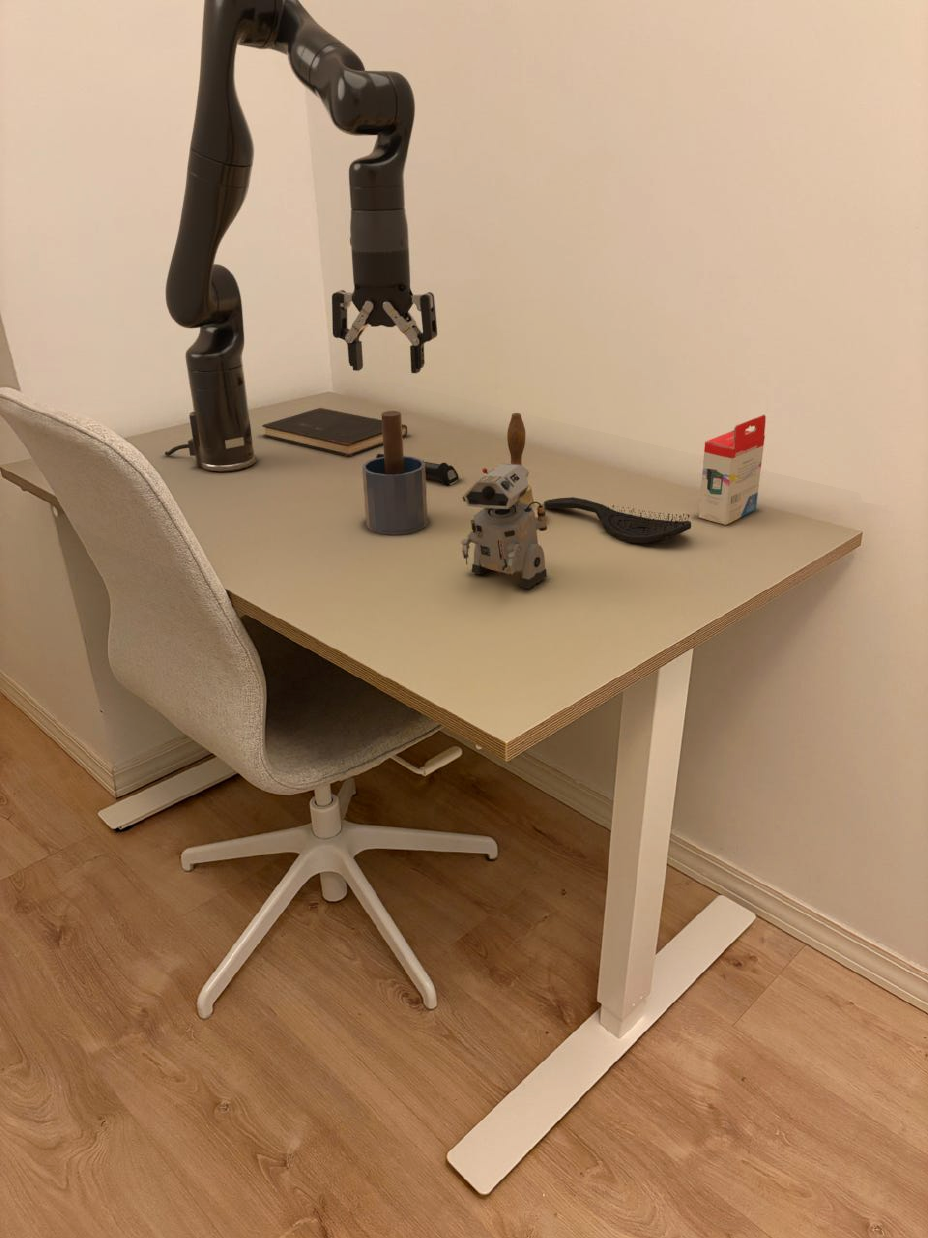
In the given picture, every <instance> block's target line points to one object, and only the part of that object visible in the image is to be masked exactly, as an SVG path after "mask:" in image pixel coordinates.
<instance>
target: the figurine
mask: <svg viewBox="0 0 928 1238" xmlns="http://www.w3.org/2000/svg"><path fill="white" fill-rule="evenodd" d="M481 470H482V473H483V474H485V475H484V476H482V477H481V478H479V479H478V480H476V482H475V483H473V484H472V486H471V487H470V488H469V489H468V490H467V491H466V492H465V493H464V494H463V496H462V500H463V502H465V504H466V507H472V508H481V510H479V511H478V512H477V513H476V514H474V515H473V516H472V518H473V519H470V525H471V531H470V532H468V534H467V537H466V538H464V539H462V540H461V541H460V543H461V545H462V548H461V552H462V557H463V559H464V560H465V563H466V564H465V565H468V559H469V558H470V556H469V550H470V548H471V547H470V544H471V543H472V544H474V549H473V563H472V565H471V573H474V574H475V575H479V576H481V575H483V574H484V573H486V572H487V570H492V571H495V572H498V573H504V574H506V575H513V574H514V573H516V572H520V571H522V574H521V575H522V577H521V578H520V587H522V588H524V589H526V590H531V589H532V588H535V586H536V584H541V582H544V580H545V578H547V577H548V573H547V569H546V559H545V552H544V549H543V547H542V546H541V544H539V542H538V540H539V539H538V532H537V530H539V531H540V532H544V531H547V530H548V525H547V519H546V518H547V517H546V507H544V506H545V505H544V504H541V503H540V502H539V501H534V502H532V503H530V504H529V505H528V504H524V503H520V502H521V501H520V499H521V498H522V497H523V496H524V495H525V494H526V491H527V488H528V484H529V482H528V476H529V474H530V472H529V470H528V469H527V468H526V467H525V466H523V465H522V466H521V465H519V464H511V463H501V464H500V465H498V466H496V467H495V468H493V469H492V470H490V471H488V468H486V467H483V468H482V469H481ZM533 503H535V504H538V505H537V506H536V508H537V515H538V517H535V512H534V510H533V508H532V506H531V504H533Z"/></svg>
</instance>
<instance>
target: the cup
mask: <svg viewBox="0 0 928 1238" xmlns="http://www.w3.org/2000/svg"><path fill="white" fill-rule="evenodd" d="M423 461H424V460H423V459H420V458H417V457H414V456H408V455H404V473H402V474H385V464H384V457H381V458H376V457H375V458H373V459H370V460H367V461H366V462H364V463H363V465H362V467H361V469H362V482H363V494H364V507H365V508H364V510H365V523H366V527H367V528H368V530H370V531H371V532H373V533H376V534H380V535H388V536H399V535H400V536H401V535H408V534H412V533H416V532H419V531H421V530H423V529H424V528H426V526H427V525H428V501H427V500H428V499H427V478H426V475H425V462H426V461H424V462H423Z"/></svg>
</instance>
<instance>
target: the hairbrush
mask: <svg viewBox="0 0 928 1238" xmlns="http://www.w3.org/2000/svg"><path fill="white" fill-rule="evenodd" d="M543 506H544V508H545V509H577V510H581V511H586V512H588V513H589V512H590V513H593V514H595V515H596V517H598V519H599V520H600V522H601V523H602V525H603V527H604V528H605V530H606V532H607V533H609V534H610V535H611V536H612V537H614V538H615V539H617V540H619V541H623V542H627V543H633V544H635V543H636V544H637V543H638V544H647V543H651V542H652V543H653V542H656V541H657V542H658V541H660V540H661V541H663V540H666V539H669V538H671V537H675V536H677V535H680V534H682V533H685V532H686V531H688V530H690V529H692V522H691V521H690V520H687V519H689V518H690V514H688V513H686V516H685V513H683V514H682V515H681V514H680V515H678V514H675V516H674V514H673V513H672V514H671V519H670V513H669V512H667V516H666V518H667V519H665V518H662V516H661V514H663V517H665V512H663V513H662V512H659V514H658V516H655V515H653V517H652V514H655V511H650V510H649V511H648V513H649V515H647V514H646V511H645V510H641V511H640V509H638V513H637V515H636V511H635V508H632V510H630V506H628V508H627V509H628V510H630V511H629V512H628V513H625V512H626V510H625V509H624V508H625V507H624V506H622V509H621V510H620V509H619V510H618V508H619V507H617V510H614V508H615V505H612V508H611V507H610V506H606V505H605V504H603V503H600V502H597V501H592V500H588V499H584V498H580V497H575V496H571V497H558V498H553V499H552V498H551V499H547V500H545V501H543ZM650 512H651V513H650ZM633 513H634V514H633ZM643 513H644V515H645V516H643V515H642V514H643ZM638 515H639V516H638ZM654 517H655V518H654ZM677 517H678V520H677Z"/></svg>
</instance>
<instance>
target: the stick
mask: <svg viewBox="0 0 928 1238" xmlns="http://www.w3.org/2000/svg"><path fill="white" fill-rule="evenodd" d="M380 415H381V417H380V418H381V420H382V433H383V445H382V446H383V447H382V448H383V454H384V464H385V474H402V473H404V456H405V455H404V440H403V439H404V437H402V424H403V422H402V421H403V420H402V412H401V411H399V410H398V411H397V410H385V411H383V412H381V414H380Z"/></svg>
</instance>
